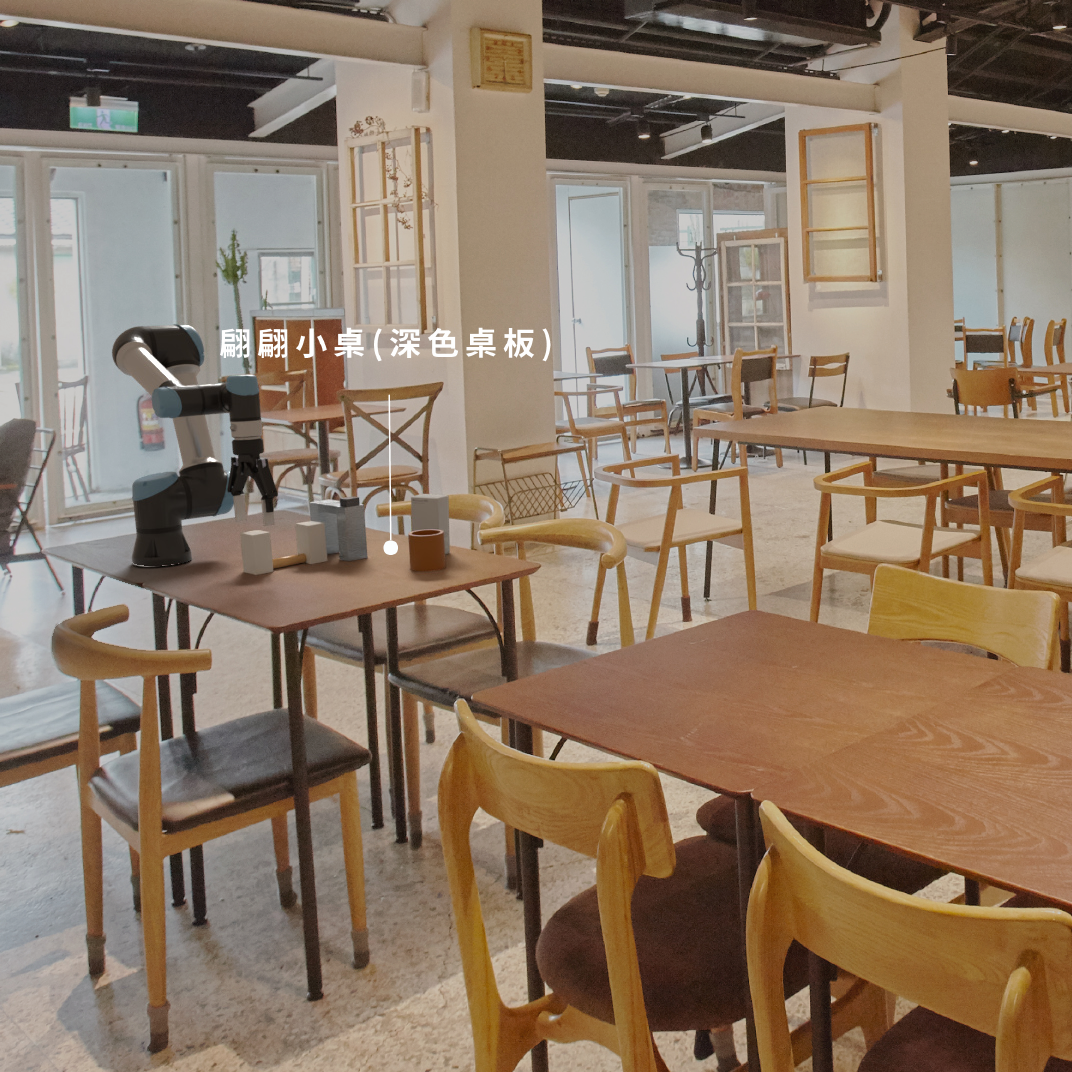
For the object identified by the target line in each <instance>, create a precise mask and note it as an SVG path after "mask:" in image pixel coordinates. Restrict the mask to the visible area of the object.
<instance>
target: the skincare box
mask: <svg viewBox="0 0 1072 1072" xmlns="http://www.w3.org/2000/svg"><path fill="white" fill-rule="evenodd" d="M449 498H450V497H449V495H445V494H436V493H435V494H434V493H432V494H431V493H420V494H416V495H412V496H410V509H411V510H410V511H411V512H410V513H411V532H412V531H417V530H426V529H436V530H442V531H444V544H445V556H446V555H448V554H450V553H451V552H450V551H451V546H450V543H451V542H450V541H451V540H450V508H449V507H450V506H449V505H450V504H449V502H450V501H449V500H450V499H449Z"/></svg>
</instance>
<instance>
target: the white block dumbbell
mask: <svg viewBox="0 0 1072 1072" xmlns="http://www.w3.org/2000/svg"><path fill="white" fill-rule="evenodd" d="M294 524H295V537H296V538H295V539H296V550H297V552H296V553H297V554H293V555H287V556H282V557H276V558H273V551H272V550H273V549H272V539H271V532H270V531H265V530H260V529H255V530H249V531H244V532H240V533H239V536H240V537H239V538H240V548H241V558H242V560H241V561H242V572H243V573H246V574H250V575H255V576H258V575H262V574H267V573H274V569H278V568H283V567H288V566H289V567H290V566H293V565H298V564H300V565H301V564H308V565H314V564H318V563H323V562H328V555H327V551H326V537H325V523H321V522H316V521H311V520H309V521H302V522H297V523H294Z"/></svg>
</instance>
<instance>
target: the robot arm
mask: <svg viewBox="0 0 1072 1072" xmlns="http://www.w3.org/2000/svg"><path fill="white" fill-rule="evenodd" d="M204 353H205V348H204V343H203V341H202V338H201V336H200V335H199V331H197V330H196V329H195V328H194V327H193V326H191V325H187V324H177V323H176V324H167V325H163V324H162V325H147V326H144V325H141V326H134V327H131V328H128V329H125V330H124V331H122V333H120V335H118V336H117V338H116V339H115V341H114V343H113V345H112V349H111V355H112V360H113V362H114V364H115V366H116V367H117V368H118V370H120V372H122V373H123V374H124V375H127V376H129V377H130V376H131V377H132V378H133V379H134V380H135V381H136V382H137V383H138V384H139V385H140V386H141V387H142V388H143V389H144V390H145V391H146V392H147V393H148V394H149V395H150V396H151V406H152V409H153V411H154V414H155V416H157V417H158V418H160V419H172V421H173V427H174V431H175V435H176V439H177V444H178V449H179V453H180V457H181V460H182V466H181V468H179V471H178V473H179V475H178V474H177V472H176V471H164V472H157V473H152V474H148V475H144V476H141V477H139V478H137V479H135V480H134V481H133V482H132V485H131V486H132V487H131V489H132V491H131V492H132V493H131V494H132V496H131V499H132V502H133V503H132V504H133V512H134V521H135V531H136V537H135V542H134V546H133V550H132V555H131V560H132V562H133V563H134V564H137V565H144V566H162V565H171V564H178V563H182V564H185V563H184V562H186V563H189V562H191V561H192V560H193V557H192V551H191V548H190V546H189V545H190V544H188V540H187V539H186V536H185V534H184V532H183V523H182V522H183V521H184V520H192V519H199V518H201V519H202V518H206V517H207V518H208V517H217V516H221V515H225V514H228V513H229V512H231V510H232V508H233V509H234V519H235V523H238V522H245V521H247V510H246V500H245V492H244V489H245V487H246V483H247V481H248V478H249V477H250V478H251V479H253V481H254V482H255V485H256V487H257V488H258V491H259V492H260V495H261V498H260V501H261V503H260V504H261V512H262V513H261V514H262V523H263V527H268V526H269V527H270V526H275V525H276V524H275V523H276V522H275V512H274V511H275V510H274V498H275V497H279V493H278V490H277V487H276V484H275V480H274V478H273V476H272V472H271V469H270V466H269V460H268V458H267V457H264V458H261V456H260V455H261V454H263V453H264V452H265V447H264V439H263V438H262V437H263V434H264V433H263V426H262V425H263V423H262V415H261V400H260V387H259V383H258V378H257V376H256V375H255V374H237V375H236V374H235V375H229V376H227V377H226V380H225V381H226V382H225V381H224V382H217V383H207V384H198V379H197V376H198V374H199V373H200V372H201V366H202V365H203V364H204V362H205V354H204ZM221 414H229V415H228V416H229V422H230V424H229V425H230V426H229V429H230V433H231V438H233V439H232V441H231V445H232V446H231V447H232V454H233V455H234V456H231V457H230V470H225V469H224V465H223V462H221V461H220V460H218V459H217V458H216V457H215V451H214V448H213V444H212V439H211V435H210V431H209V426H208V422H207V418H206V417H207V415H208V416H209V415H221ZM190 560H191V561H190ZM188 561H189V562H188ZM133 563H132V564H133ZM178 565H179V564H178Z"/></svg>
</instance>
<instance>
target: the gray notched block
mask: <svg viewBox="0 0 1072 1072" xmlns="http://www.w3.org/2000/svg"><path fill="white" fill-rule="evenodd" d="M309 516H310V521H316V522H321V523H325V537H326V551H327V556H328V555H332V554H338V555H339V560H340V561H345V562H352V561H357V560H362V559H367V558H369V557H368V546H367V528H366V512H365V504H362V503H360V497H359V496H347V497H346V496H345V497H339V500H335V499H329V498H327V499H322V500H317V501H316V500H315V501H310V502H309Z"/></svg>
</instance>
